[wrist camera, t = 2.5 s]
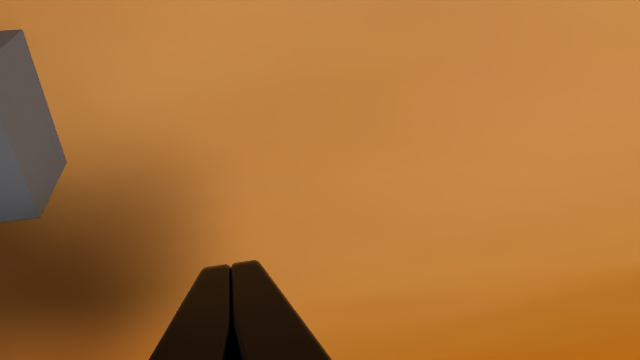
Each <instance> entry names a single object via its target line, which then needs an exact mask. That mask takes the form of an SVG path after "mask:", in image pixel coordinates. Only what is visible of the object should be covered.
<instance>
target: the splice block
mask: <svg viewBox="0 0 640 360" xmlns="http://www.w3.org/2000/svg"><path fill="white" fill-rule="evenodd" d="M66 163H67V162H66V159H65V156H64V153H63V150H62V147H61V144H60V141H59V138H58V135H57V132H56V129H55V126H54V123H53V120H52V117H51V114H50V111H49V108H48V105H47V102H46V99H45V96H44V93H43V90H42V87H41V84H40V81H39V78H38V75H37V72H36V69H35V66H34V63H33V60H32V57H31V54H30V51H29V48H28V45H27V42H26V39H25V36H24V33H23V30H6V31H0V222H7V221H17V220H26V219H35V218H40V216H41V214H42V212H43V210H44V208H45V206H46V204H47V202H48V200H49V198H50V195H51V193H52V191H53V189H54V187H55V185H56V183H57V181H58V179H59V177H60V175H61V173H62V171H63V169H64V167H65V165H66Z"/></svg>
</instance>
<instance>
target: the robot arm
mask: <svg viewBox="0 0 640 360" xmlns="http://www.w3.org/2000/svg"><path fill="white" fill-rule="evenodd" d="M149 360H332V359H331V358H330V357H329V355H328V354H327V353H326V351H325V350H324V348H323V347H322V346H321V344H320V343H319V342H318V340H317V339H316V338H315V336H314V335H313V334H312V332H311V331H310V330H309V328H308V327H307V326H306V324H305V323H304V322H303V320H302V319H301V318H300V316H299V315H298V314H297V312H296V311H295V310H294V308H293V307H292V305H291V304H290V303H289V301H288V300H287V299H286V297H285V296H284V295H283V293H282V292H281V291H280V289H279V288H278V287H277V285H276V284H275V283H274V281H273V280H272V279H271V277H270V276H269V275H268V273H267V272H266V271H265V269H264V268H263V266H262V265H261V264H260V263H259V262H258V261H256V260H252V261H245V262H238V263H234V264H233V265H232V267H230V266H229V265H227V264H225V265H218V266H211V267H206V268H204V269H202V271H201V272H200V274H199V275H198V277H197V279H196V281H195V282H194V284H193V286H192V287H191V289H190V291H189V292H188V294H187V296H186V297H185V299H184V301H183V303H182V304H181V306H180V308H179V309H178V311H177V313H176V314H175V316H174V318H173V320H172V321H171V323H170V325H169V326H168V328H167V330H166V331H165V333H164V335H163V336H162V338H161V340H160V342H159V343H158V345H157V347H156V348H155V350H154V352H153V353H152V355H151V357H150V358H149Z"/></svg>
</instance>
